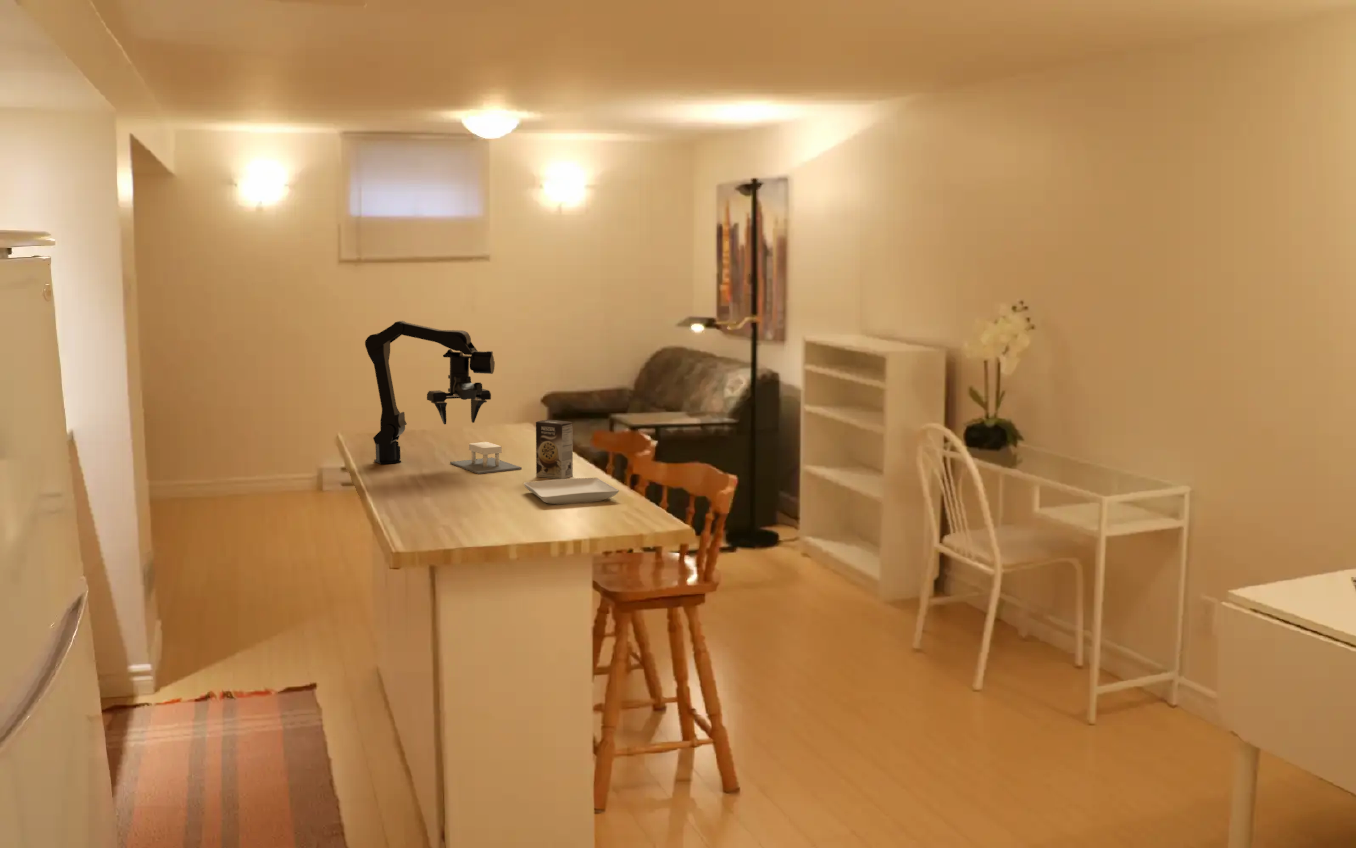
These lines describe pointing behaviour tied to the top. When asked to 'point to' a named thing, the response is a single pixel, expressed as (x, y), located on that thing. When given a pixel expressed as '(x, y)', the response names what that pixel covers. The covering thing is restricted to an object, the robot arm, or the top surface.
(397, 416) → the robot arm
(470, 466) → the mat
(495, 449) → the footstool
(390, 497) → the top surface
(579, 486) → the salad plate
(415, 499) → the top surface
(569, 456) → the coffee box
